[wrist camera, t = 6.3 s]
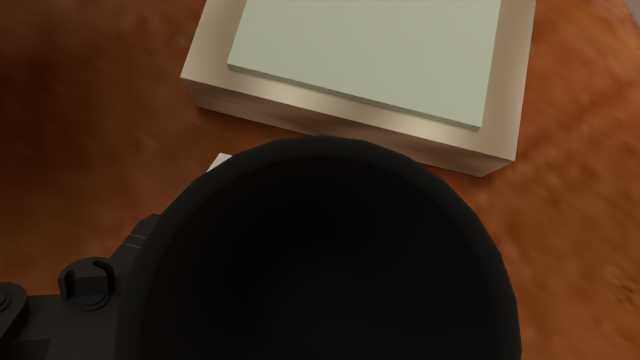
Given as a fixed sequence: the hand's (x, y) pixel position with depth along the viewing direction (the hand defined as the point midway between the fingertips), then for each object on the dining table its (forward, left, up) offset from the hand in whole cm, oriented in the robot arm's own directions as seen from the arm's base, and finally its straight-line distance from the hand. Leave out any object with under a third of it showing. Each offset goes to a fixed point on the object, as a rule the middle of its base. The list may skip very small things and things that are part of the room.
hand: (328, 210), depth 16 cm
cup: (0, -3, -4) cm, 6 cm away
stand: (0, +12, -5) cm, 13 cm away
